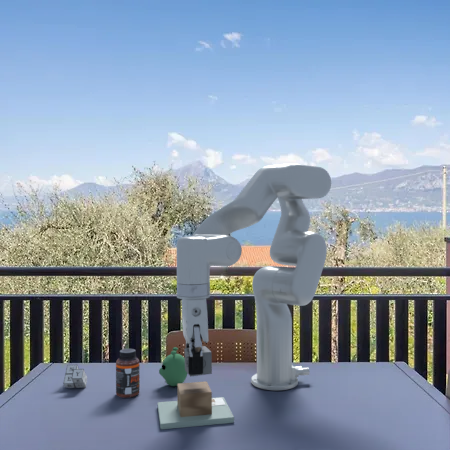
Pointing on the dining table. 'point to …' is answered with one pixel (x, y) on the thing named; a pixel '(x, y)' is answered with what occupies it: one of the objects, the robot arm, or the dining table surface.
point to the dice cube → (206, 361)
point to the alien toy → (173, 368)
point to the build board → (172, 418)
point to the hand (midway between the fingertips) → (194, 368)
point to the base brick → (194, 399)
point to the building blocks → (75, 377)
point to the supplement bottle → (127, 374)
